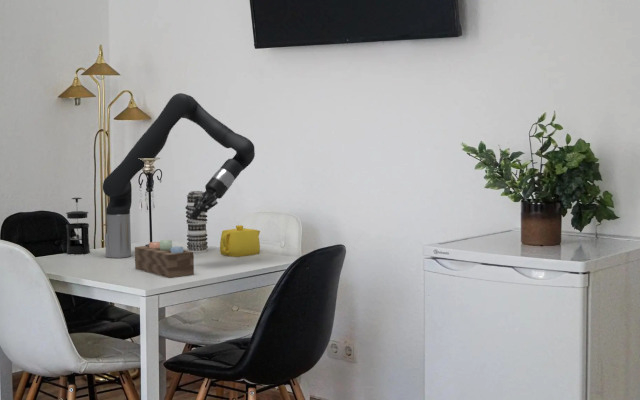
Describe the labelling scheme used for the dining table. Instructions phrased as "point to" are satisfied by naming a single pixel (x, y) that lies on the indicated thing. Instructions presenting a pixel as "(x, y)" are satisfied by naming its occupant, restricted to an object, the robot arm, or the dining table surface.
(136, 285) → the dining table surface
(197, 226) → the decorative candle
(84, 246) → the french press
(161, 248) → the sage button
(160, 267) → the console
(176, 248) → the blue button
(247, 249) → the teapot
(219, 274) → the dining table surface
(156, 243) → the terracotta button
